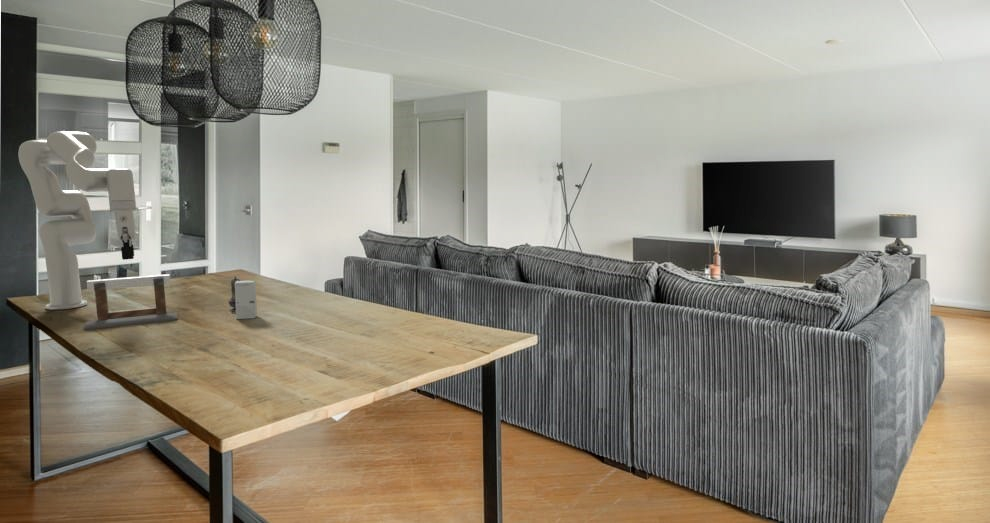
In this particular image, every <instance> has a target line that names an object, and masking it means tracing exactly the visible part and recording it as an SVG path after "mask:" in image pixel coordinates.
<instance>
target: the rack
mask: <svg viewBox="0 0 990 523" xmlns="http://www.w3.org/2000/svg"><path fill="white" fill-rule="evenodd" d="M153 280H154V285H153V289H154V300H155V301H154V302H155V306H154V307H144V308H136V309H135V308H133V309H125V310H124V309H123V310H122V309H121V310H114V311H109V301H108V292H107V291H108V289H105V282H100V283H94V290H93V291H94V296H95V297H94V298H95V306H96V316H97V321H98V320H108V319H117V318H127V317H137V316H146V315H156V314H165V313H167V305H166V294H165V293H166V292H165V291H166V290H165V284H164V279H163V278H153Z"/></svg>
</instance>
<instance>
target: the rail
mask: <svg viewBox="0 0 990 523" xmlns="http://www.w3.org/2000/svg"><path fill="white" fill-rule="evenodd" d="M153 278H163V279H164V285H171V275H170V274H167V273H166V274H155V275H143V276H129V277H128V276H127V277H117V278H115V277H113V278H102V279H91V280H90V279H89V280H86V287H87V288H86V290H87V292H91V291H94V283H100V282H105V289H106V290H114V289H115V290H116V289H126V288H129V289H130V288H136V287H137V288H139V287H151V286H154V280H153Z"/></svg>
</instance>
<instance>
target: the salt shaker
mask: <svg viewBox="0 0 990 523" xmlns="http://www.w3.org/2000/svg"><path fill="white" fill-rule="evenodd" d="M230 281H231V284H230V286H231V288H230V291H231V298H230V299H228V300H227V302H228V304H229V306H230V307H231V308H230V309H229V312H233V313H236V303H235V282H236V281H241V280H240V279H239V278H237V277H236V275H234V278H233V279H232V280H230Z"/></svg>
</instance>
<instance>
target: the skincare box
mask: <svg viewBox="0 0 990 523" xmlns="http://www.w3.org/2000/svg"><path fill="white" fill-rule="evenodd" d="M235 303H236V312H235V318H236V320H241V319H242V320H243V319H255V318H256V317H257V315H258V314H257V312H258V311H257V286H256V280H240V281H236V282H235Z"/></svg>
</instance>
